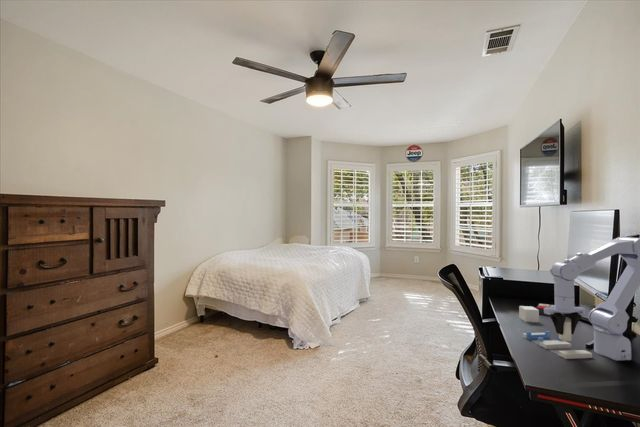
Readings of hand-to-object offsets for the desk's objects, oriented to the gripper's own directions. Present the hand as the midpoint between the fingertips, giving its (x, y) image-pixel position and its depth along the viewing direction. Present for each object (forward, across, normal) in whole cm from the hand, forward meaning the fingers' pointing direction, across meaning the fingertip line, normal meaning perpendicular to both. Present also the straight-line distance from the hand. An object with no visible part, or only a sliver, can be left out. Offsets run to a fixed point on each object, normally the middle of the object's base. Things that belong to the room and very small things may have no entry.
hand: (565, 333), depth 113 cm
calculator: (+8, -37, -46) cm, 59 cm away
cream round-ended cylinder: (+2, 0, 0) cm, 2 cm away
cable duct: (+8, 0, -4) cm, 9 cm away
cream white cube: (+8, -16, -38) cm, 41 cm away
